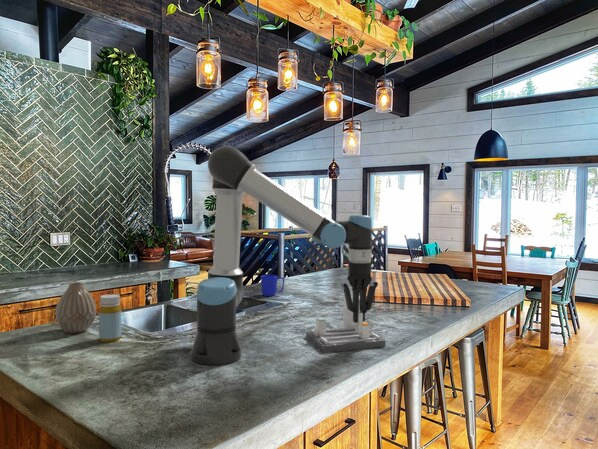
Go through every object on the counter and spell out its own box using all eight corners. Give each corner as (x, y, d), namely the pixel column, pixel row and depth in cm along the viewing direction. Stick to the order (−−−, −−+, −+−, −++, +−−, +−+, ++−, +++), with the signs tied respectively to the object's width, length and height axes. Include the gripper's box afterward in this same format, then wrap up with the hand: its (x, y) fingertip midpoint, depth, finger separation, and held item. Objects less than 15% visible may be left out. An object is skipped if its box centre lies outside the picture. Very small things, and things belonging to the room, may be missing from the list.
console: (323, 352, 141) (324, 343, 141) (305, 336, 157) (306, 328, 157) (385, 346, 147) (385, 337, 147) (362, 331, 164) (362, 323, 164)
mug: (283, 297, 223) (284, 277, 223) (259, 296, 223) (260, 277, 223) (284, 293, 231) (284, 274, 231) (261, 293, 231) (261, 274, 231)
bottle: (116, 335, 157) (116, 293, 156) (124, 339, 152) (124, 296, 151) (96, 339, 152) (95, 295, 151) (104, 344, 147) (103, 299, 146)
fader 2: (362, 339, 148) (362, 324, 148) (358, 336, 151) (358, 322, 150) (368, 338, 148) (369, 323, 148) (364, 336, 151) (365, 321, 151)
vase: (50, 330, 161) (49, 282, 160) (87, 323, 170) (87, 278, 170) (63, 338, 152) (63, 288, 151) (102, 330, 162) (101, 283, 161)
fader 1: (319, 334, 153) (319, 320, 152) (316, 331, 155) (316, 317, 155) (325, 333, 153) (325, 319, 153) (322, 331, 156) (322, 317, 156)
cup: (362, 335, 161) (366, 303, 159) (337, 330, 163) (342, 298, 162) (365, 328, 169) (370, 297, 168) (342, 323, 172) (346, 293, 170)
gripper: (346, 263, 142) (345, 336, 143) (382, 262, 146) (381, 333, 147) (337, 260, 149) (336, 330, 150) (372, 259, 153) (371, 327, 154)
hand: (358, 331), depth 149 cm, fingers closed
